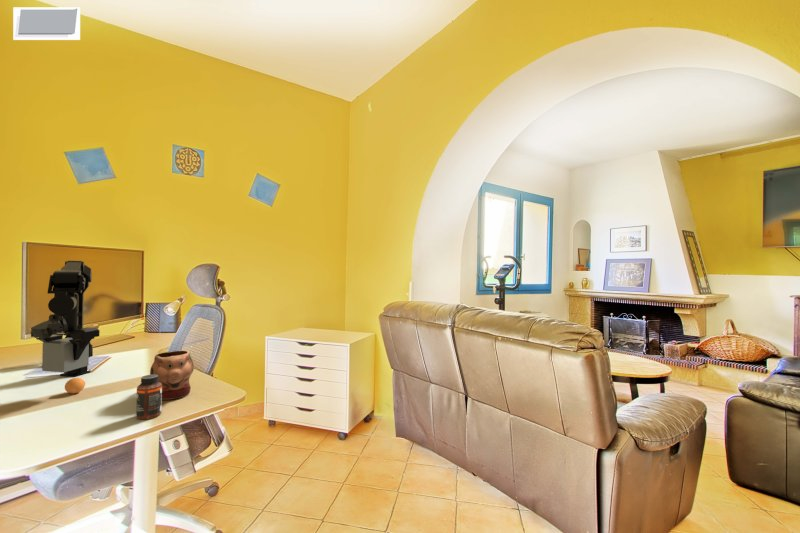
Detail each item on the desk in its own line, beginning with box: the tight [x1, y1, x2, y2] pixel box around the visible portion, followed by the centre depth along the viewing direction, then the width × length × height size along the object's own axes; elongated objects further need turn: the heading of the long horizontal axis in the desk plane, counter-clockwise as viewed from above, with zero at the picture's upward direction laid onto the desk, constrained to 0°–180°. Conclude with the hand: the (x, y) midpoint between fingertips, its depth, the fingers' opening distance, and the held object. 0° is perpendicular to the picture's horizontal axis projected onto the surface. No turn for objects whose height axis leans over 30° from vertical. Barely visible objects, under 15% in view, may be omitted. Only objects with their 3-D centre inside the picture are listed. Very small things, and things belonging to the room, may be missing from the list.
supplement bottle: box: [135, 374, 163, 420], centre depth 102 cm, size 6×6×11 cm
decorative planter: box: [149, 350, 195, 400], centre depth 119 cm, size 20×12×14 cm, turn 44°
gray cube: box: [41, 337, 90, 373], centre depth 114 cm, size 8×8×9 cm
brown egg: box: [64, 377, 86, 394], centre depth 117 cm, size 5×5×5 cm
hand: (65, 359), depth 114 cm, fingers closed on gray cube, 8 cm apart
